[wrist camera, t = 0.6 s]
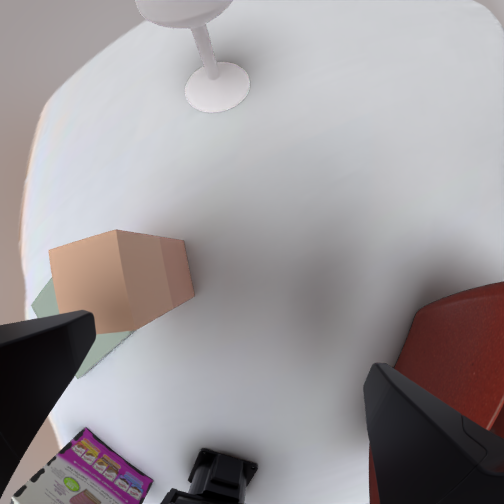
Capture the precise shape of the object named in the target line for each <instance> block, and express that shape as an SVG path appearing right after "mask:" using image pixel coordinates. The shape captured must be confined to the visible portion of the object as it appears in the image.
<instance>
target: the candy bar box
mask: <svg viewBox="0 0 504 504" xmlns="http://www.w3.org/2000/svg"><path fill="white" fill-rule="evenodd" d="M152 483H153V480H152V479H150V478H149V477H147V476H146V475H144V474H143V473H142V472H140V471H139V470H137V469H136V468H135V467H133V466H132V465H130V464H129V463H128V462H126V461H125V460H124V459H122V458H121V457H120V456H118V455H117V454H116V453H115V452H113V451H112V450H111V449H110V448H108V447H107V446H106V445H105V444H103V443H102V442H101V441H100V440H99V439H98V438H96V437H95V436H94V435H93V434H92V433H91V432H90V431H89V430H88V429H86V428H84V429H83V430H82V431H80V432H79V433H78V434H77V435H76V436H75V437H74V438H73V439H72V440H71V441H70V442H69V443H68V444H67V445H66V446H65V447H64V448H63V449H62V450H61V451H59V452H58V453H57V454H56V455H55V456H54V457H53V458H52V459H51V460H50V461H49V462H48V463H47V464H46V465H45V466H44V467H43V468H42V469H40V470H39V471H38V472H37V473H36V474H35V475H34V476H33V477H32V478H31V479H30V480H29V481H28V482H27V483H26V484H25V485H23V486H22V487H21V488H20V489H19V490H18V491H17V492H16V493H15V494H14V495H13V496H12V499H11V503H10V504H142V503H143V501H144V499H145V497H146V495H147V493H148V491H149V489H150V487H151V485H152Z"/></svg>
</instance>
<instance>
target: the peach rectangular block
mask: <svg viewBox="0 0 504 504" xmlns="http://www.w3.org/2000/svg"><path fill="white" fill-rule="evenodd" d="M49 258H50V266H51V272H52V278H53V284H54V290H55V295H56V300H57V305H58V309H59V314H63V313H68V312H73V311H78V310H86V311H89V312H92V313H93V315H94V319H95V327H96V334H106V333H116V332H125V331H134V330H137V329H139V328H141V327H142V326H144V325H146V324H148V323H149V322H151V321H153V320H155V319H156V318H158V317H160V316H161V315H163V314H165V313H167V312H168V311H170V310H172V309H174V308H175V307H177V306H179V305H181V304H182V303H184V302H186V301H187V300H189V299H191V298H193V297H194V296H195V294H194V290H193V285H192V280H191V275H190V270H189V265H188V260H187V255H186V250H185V245H184V241H183V240H177V239H171V238H165V237H159V236H153V235H147V234H141V233H134V232H128V231H122V230H112V231H109V232H105V233H102V234H99V235H95V236H92V237H89V238H85V239H82V240H79V241H75V242H72V243H69V244H66V245H63V246H60V247H57V248H54V249H50V250H49Z"/></svg>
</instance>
